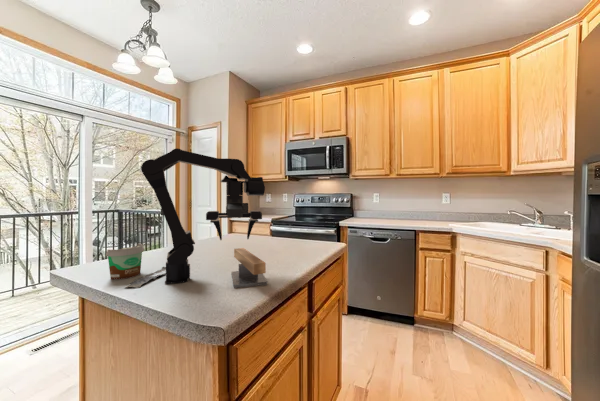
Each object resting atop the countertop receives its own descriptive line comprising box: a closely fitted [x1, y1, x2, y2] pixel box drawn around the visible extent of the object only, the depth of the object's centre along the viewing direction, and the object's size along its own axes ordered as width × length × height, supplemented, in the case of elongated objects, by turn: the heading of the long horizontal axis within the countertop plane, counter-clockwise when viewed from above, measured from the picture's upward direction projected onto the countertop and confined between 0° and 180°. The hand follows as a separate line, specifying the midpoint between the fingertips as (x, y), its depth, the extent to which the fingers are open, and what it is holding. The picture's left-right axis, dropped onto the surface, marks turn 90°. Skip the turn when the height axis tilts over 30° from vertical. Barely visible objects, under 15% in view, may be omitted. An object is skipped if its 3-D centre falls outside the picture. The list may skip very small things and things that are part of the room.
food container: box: [105, 243, 145, 280], centre depth 89 cm, size 12×6×10 cm, turn 164°
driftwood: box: [125, 266, 166, 289], centre depth 87 cm, size 21×7×2 cm, turn 171°
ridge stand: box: [230, 263, 268, 289], centre depth 85 cm, size 10×14×5 cm
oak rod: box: [233, 247, 267, 275], centre depth 85 cm, size 4×24×3 cm, turn 27°
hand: (234, 239), depth 92 cm, fingers open, 9 cm apart
